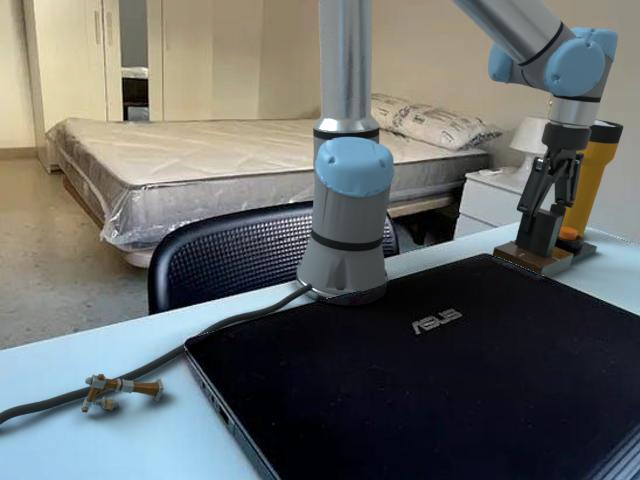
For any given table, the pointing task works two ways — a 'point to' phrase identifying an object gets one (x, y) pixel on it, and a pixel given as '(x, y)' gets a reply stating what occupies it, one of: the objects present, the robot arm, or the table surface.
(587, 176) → the flashlight
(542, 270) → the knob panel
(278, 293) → the table surface
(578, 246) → the button block
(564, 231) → the button
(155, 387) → the toy blaster gun
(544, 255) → the dark gray rectangular block
